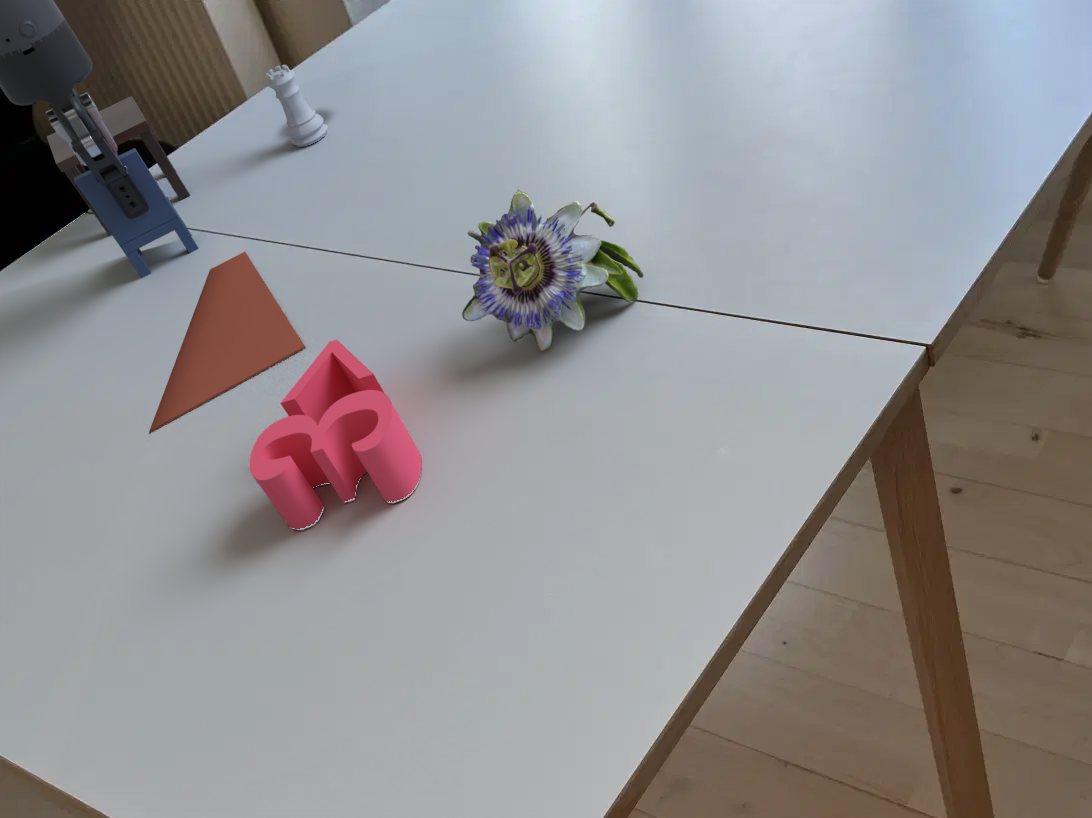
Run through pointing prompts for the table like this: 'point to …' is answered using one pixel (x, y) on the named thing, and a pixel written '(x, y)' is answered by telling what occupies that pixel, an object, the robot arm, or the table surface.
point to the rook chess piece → (296, 108)
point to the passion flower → (543, 270)
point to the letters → (334, 440)
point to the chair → (144, 226)
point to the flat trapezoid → (227, 339)
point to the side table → (123, 126)
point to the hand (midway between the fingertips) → (137, 210)
